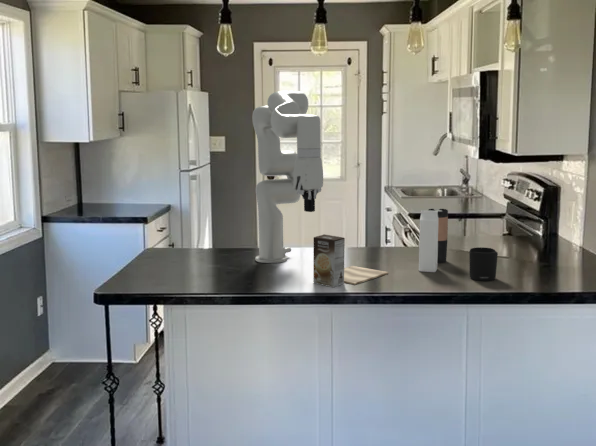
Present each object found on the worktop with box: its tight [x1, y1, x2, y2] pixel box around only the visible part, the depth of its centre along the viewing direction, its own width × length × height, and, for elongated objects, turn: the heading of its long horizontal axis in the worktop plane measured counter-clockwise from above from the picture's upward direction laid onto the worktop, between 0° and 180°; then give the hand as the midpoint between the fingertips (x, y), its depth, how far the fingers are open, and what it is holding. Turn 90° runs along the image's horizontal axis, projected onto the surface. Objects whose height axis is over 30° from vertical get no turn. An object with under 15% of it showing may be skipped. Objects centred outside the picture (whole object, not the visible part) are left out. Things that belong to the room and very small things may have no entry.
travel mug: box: [428, 208, 449, 264], centre depth 263 cm, size 8×8×20 cm
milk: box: [418, 209, 438, 273], centre depth 249 cm, size 6×6×22 cm
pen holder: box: [468, 246, 499, 282], centre depth 237 cm, size 9×9×10 cm
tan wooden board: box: [344, 265, 389, 286], centre depth 243 cm, size 20×16×1 cm
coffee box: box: [312, 234, 346, 288], centre depth 231 cm, size 9×6×16 cm
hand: (309, 211), depth 221 cm, fingers closed
